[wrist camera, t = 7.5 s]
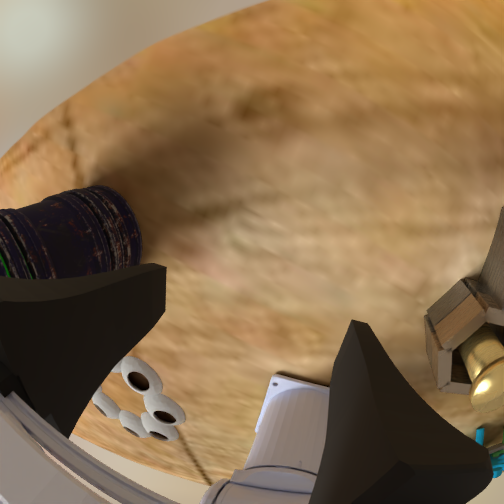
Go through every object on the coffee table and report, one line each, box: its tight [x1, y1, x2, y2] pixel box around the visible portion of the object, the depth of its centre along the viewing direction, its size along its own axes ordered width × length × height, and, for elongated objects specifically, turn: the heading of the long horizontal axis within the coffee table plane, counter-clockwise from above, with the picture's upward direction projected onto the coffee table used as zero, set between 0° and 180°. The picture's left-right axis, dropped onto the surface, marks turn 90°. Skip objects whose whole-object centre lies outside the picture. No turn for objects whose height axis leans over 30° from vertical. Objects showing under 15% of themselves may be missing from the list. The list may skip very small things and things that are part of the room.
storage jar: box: [0, 185, 142, 279], centre depth 18 cm, size 10×10×15 cm
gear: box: [476, 428, 504, 478], centre depth 19 cm, size 11×6×10 cm
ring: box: [92, 356, 185, 441], centre depth 33 cm, size 20×20×2 cm
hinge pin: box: [457, 322, 504, 413], centre depth 14 cm, size 4×4×8 cm
